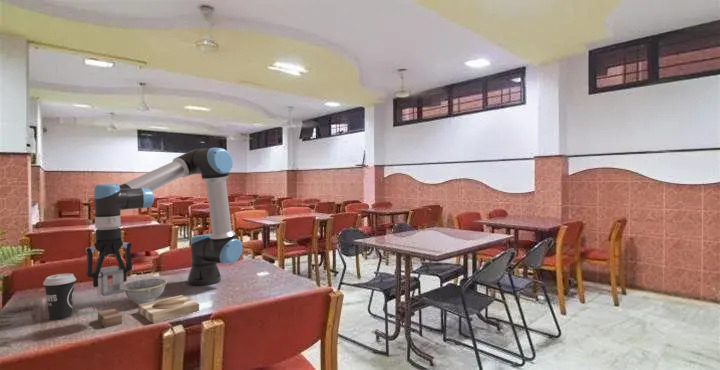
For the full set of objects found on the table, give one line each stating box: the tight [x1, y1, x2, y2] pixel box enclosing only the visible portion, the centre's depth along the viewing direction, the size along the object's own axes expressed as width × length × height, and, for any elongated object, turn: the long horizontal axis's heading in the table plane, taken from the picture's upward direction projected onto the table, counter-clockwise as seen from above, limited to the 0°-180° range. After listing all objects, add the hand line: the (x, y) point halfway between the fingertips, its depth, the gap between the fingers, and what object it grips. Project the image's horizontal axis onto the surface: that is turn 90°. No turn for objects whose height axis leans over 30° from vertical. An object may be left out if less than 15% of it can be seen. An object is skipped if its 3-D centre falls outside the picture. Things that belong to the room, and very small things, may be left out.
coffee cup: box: [42, 273, 77, 321], centre depth 139 cm, size 10×10×15 cm
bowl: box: [124, 278, 168, 305], centre depth 156 cm, size 16×16×8 cm
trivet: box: [137, 294, 200, 324], centre depth 144 cm, size 16×16×3 cm
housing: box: [99, 265, 125, 297], centre depth 134 cm, size 9×6×8 cm, turn 46°
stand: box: [97, 308, 123, 328], centre depth 134 cm, size 10×5×3 cm, turn 46°
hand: (110, 293), depth 134 cm, fingers closed on housing, 6 cm apart
